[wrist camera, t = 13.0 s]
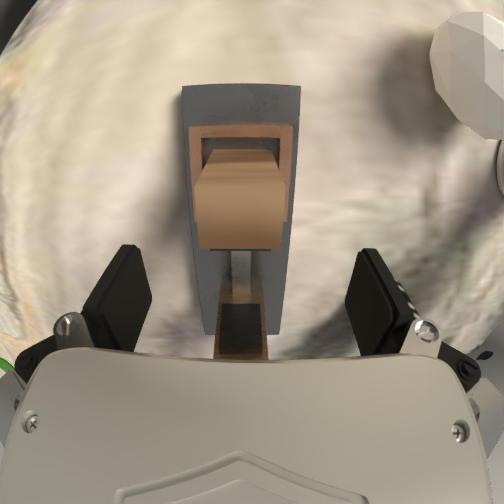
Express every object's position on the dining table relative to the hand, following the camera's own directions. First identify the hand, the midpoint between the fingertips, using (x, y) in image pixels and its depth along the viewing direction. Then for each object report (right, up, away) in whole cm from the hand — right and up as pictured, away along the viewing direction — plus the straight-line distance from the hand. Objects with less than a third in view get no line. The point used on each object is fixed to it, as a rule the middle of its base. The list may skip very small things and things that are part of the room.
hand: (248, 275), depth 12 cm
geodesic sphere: (+22, +21, +8) cm, 32 cm away
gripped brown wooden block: (-1, +8, +13) cm, 15 cm away
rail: (-1, +3, +18) cm, 19 cm away
